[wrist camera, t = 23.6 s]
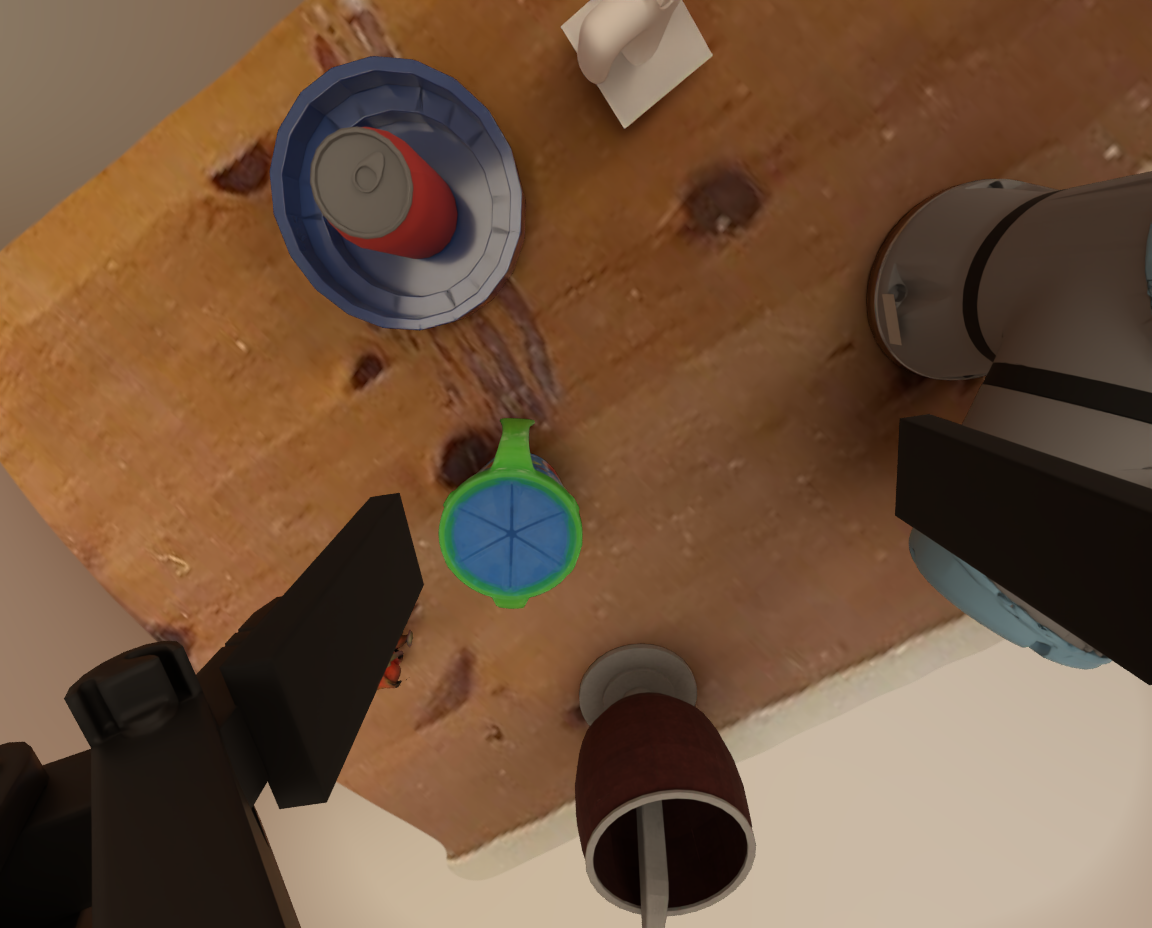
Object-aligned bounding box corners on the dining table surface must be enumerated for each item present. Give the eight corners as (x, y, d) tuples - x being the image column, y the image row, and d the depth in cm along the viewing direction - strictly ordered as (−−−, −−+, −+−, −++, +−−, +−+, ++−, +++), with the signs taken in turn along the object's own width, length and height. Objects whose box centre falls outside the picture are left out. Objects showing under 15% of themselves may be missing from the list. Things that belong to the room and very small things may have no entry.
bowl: (569, 199, 41) (571, 186, 36) (443, 366, 45) (428, 376, 40) (387, 31, 38) (360, -10, 32) (265, 228, 41) (224, 219, 36)
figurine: (547, 61, 39) (543, -73, 24) (655, -34, 37) (718, -236, 23) (606, 152, 40) (634, 78, 26) (711, 65, 39) (801, -64, 25)
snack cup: (563, 572, 51) (565, 637, 42) (453, 557, 51) (428, 621, 41) (591, 414, 47) (600, 447, 37) (470, 396, 46) (447, 425, 36)
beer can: (476, 205, 41) (445, 173, 29) (428, 277, 42) (381, 273, 31) (401, 144, 39) (338, 85, 28) (354, 221, 41) (276, 194, 29)
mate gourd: (588, 626, 53) (606, 813, 34) (720, 649, 55) (807, 840, 36) (555, 746, 58) (555, 969, 39) (677, 764, 59) (735, 988, 40)
